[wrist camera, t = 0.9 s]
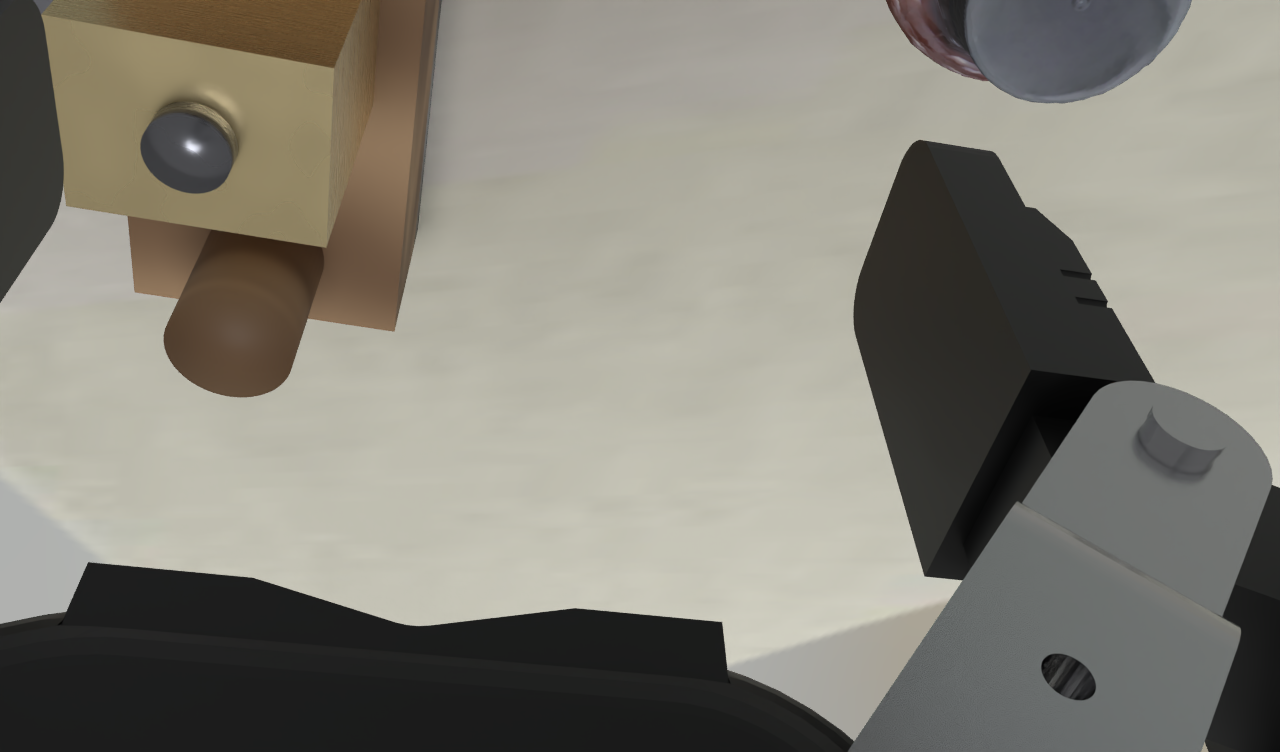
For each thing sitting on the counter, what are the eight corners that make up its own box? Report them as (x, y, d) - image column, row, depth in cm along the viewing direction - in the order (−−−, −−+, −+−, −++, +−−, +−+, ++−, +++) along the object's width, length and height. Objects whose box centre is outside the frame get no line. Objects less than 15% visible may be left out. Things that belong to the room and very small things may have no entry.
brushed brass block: (146, -106, 25) (27, 29, 20) (384, -58, 25) (327, 84, 20) (157, 65, 27) (55, 223, 22) (373, 104, 28) (320, 265, 23)
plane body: (147, -545, 24) (-104, -491, 15) (488, -458, 25) (424, -366, 17) (185, 192, 35) (54, 448, 27) (417, 230, 36) (358, 488, 28)
